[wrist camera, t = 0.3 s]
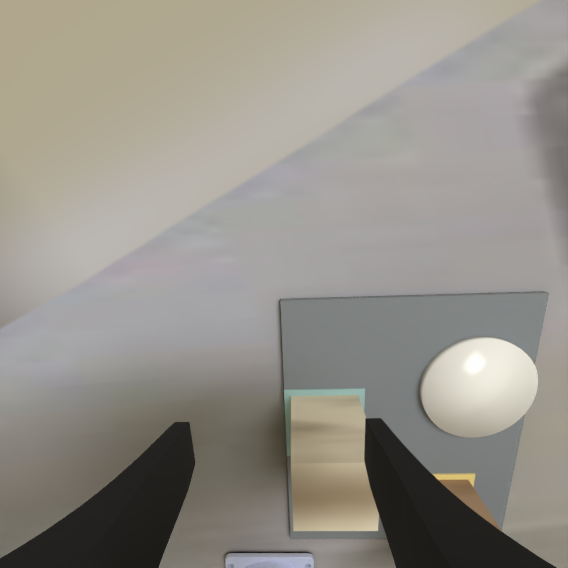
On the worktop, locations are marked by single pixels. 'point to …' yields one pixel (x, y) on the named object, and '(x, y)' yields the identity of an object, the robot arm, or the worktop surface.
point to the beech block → (330, 465)
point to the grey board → (406, 375)
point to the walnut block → (469, 498)
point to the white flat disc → (478, 386)
